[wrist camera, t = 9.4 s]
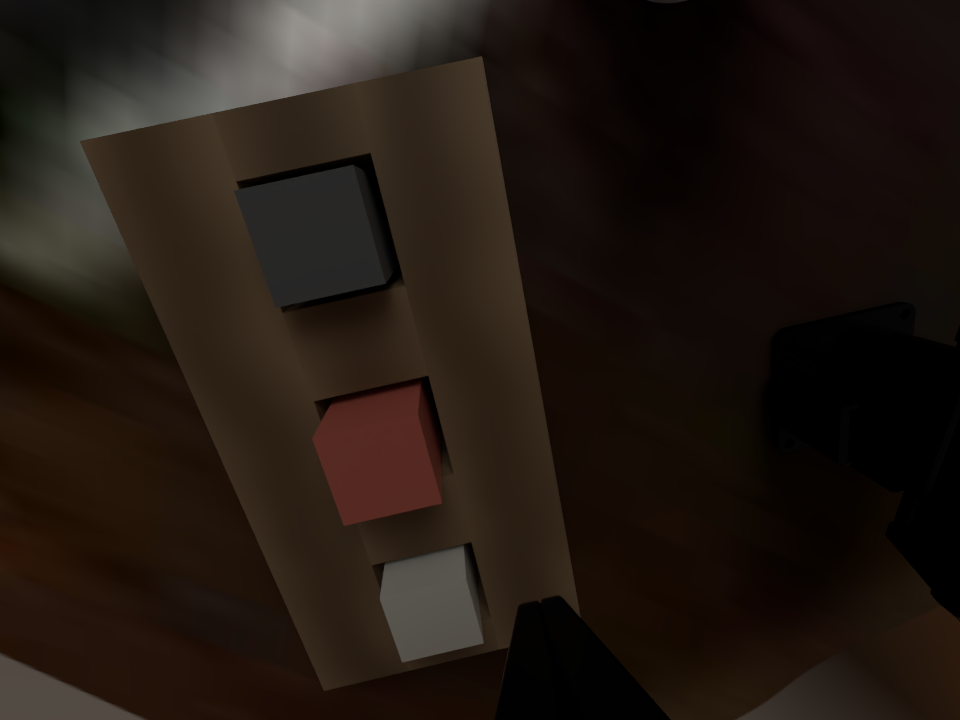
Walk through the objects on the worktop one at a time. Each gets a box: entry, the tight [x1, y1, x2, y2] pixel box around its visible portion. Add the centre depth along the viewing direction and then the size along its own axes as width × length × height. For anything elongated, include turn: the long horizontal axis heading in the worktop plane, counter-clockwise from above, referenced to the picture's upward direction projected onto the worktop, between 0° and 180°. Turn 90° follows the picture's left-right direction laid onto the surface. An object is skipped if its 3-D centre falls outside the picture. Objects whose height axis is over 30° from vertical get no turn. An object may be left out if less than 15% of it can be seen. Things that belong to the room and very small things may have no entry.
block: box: [80, 56, 581, 691], centre depth 19 cm, size 12×23×4 cm, turn 12°
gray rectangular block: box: [234, 165, 399, 308], centre depth 16 cm, size 3×3×5 cm
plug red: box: [312, 376, 442, 526], centre depth 17 cm, size 3×3×5 cm
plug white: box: [380, 542, 484, 663], centre depth 21 cm, size 3×3×5 cm
